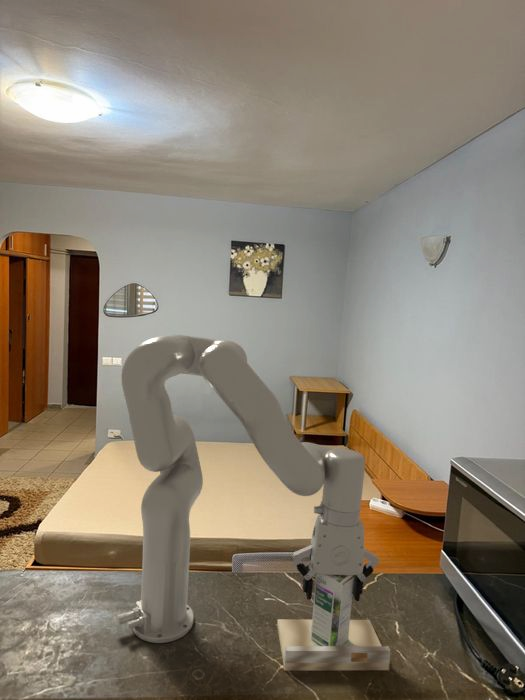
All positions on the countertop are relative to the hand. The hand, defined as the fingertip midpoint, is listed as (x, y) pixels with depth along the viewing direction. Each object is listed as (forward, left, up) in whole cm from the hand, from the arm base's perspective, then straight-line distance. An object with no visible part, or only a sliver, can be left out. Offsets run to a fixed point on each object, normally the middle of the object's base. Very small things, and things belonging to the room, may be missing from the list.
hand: (331, 596), depth 91 cm
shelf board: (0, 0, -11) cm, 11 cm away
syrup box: (0, 0, -9) cm, 9 cm away
